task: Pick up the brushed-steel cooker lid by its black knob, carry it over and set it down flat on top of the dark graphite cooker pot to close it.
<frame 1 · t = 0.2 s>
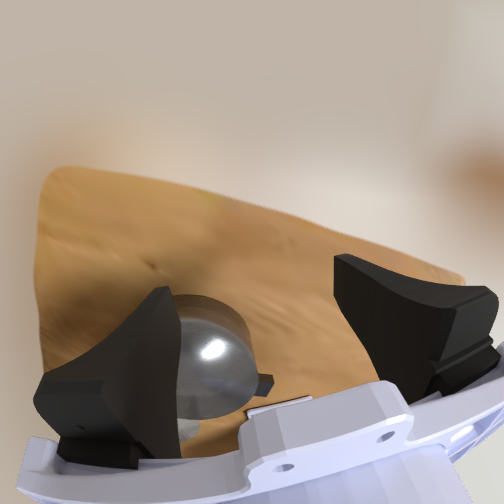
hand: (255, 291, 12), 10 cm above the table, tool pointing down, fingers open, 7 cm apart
cooker pot: (191, 344, 26), on the table
cooker lid: (152, 417, 31), on the table
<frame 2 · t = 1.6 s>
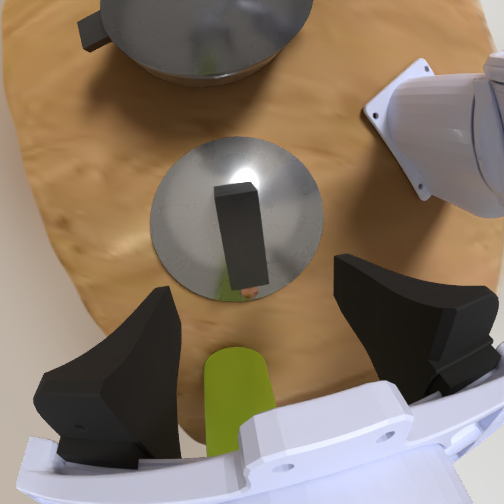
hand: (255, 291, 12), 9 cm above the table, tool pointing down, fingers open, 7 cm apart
cooker pot: (206, 14, 14), on the table
cooker lid: (237, 222, 21), on the table
soap dispenser: (240, 366, 26), on the table
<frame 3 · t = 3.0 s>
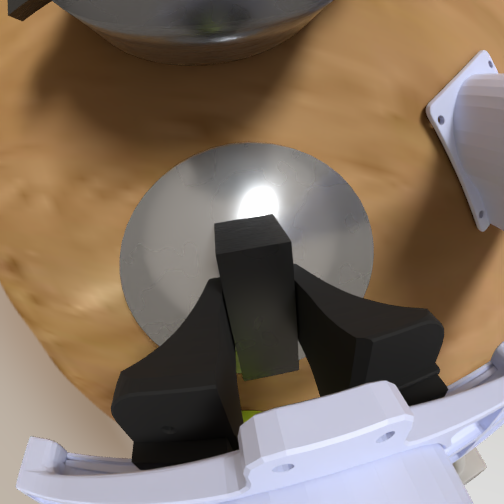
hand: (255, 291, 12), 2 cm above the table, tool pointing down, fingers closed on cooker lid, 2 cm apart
cooker lid: (250, 271, 14), on the table, touching gripper
mug: (420, 419, 26), on the table
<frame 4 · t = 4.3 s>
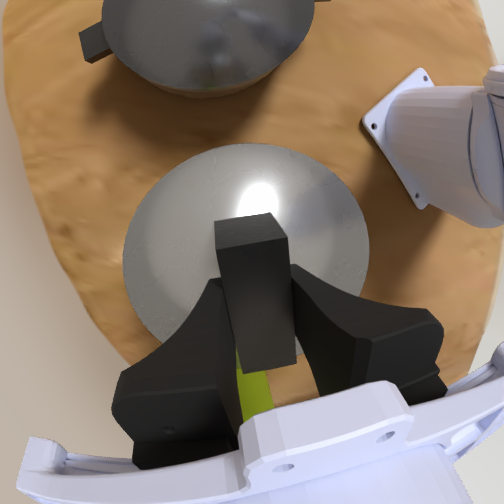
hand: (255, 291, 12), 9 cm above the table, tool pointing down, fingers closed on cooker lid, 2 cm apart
cooker pot: (207, 23, 14), on the table
cooker lid: (249, 268, 14), point 7 cm above the table, touching gripper
soap dispenser: (239, 370, 27), on the table
when the fingers open (8 cm above the table, at t = 5.9 s): cooker lid stays where it is, resting on cooker pot.
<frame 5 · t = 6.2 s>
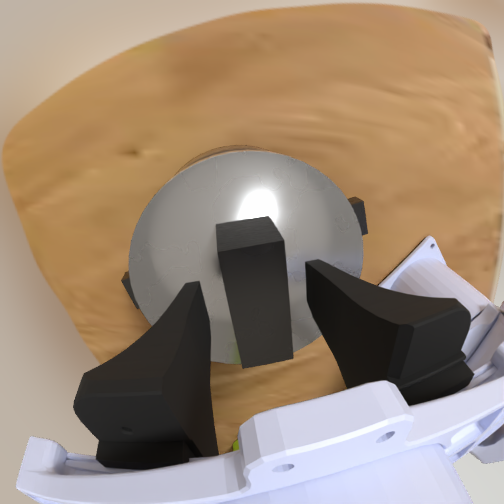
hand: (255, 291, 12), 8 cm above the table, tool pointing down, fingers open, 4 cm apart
cooker pot: (238, 228, 19), on the table
cooker lid: (248, 268, 15), point 5 cm above the table, touching cooker pot
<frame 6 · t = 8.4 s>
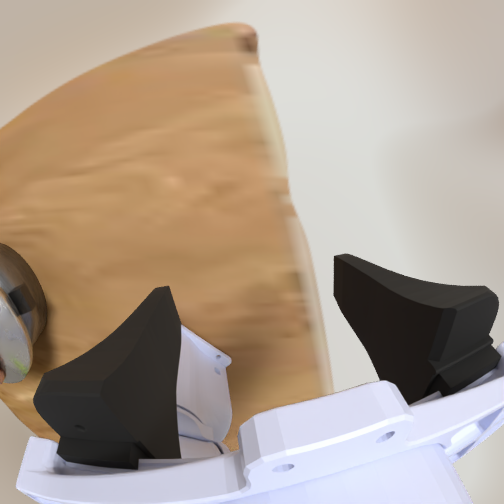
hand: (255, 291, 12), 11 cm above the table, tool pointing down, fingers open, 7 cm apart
cooker pot: (4, 294, 20), on the table
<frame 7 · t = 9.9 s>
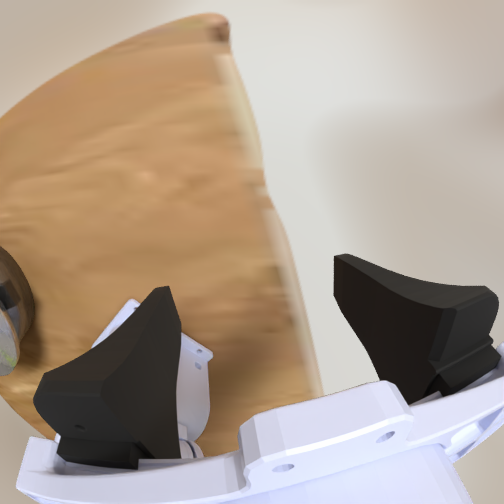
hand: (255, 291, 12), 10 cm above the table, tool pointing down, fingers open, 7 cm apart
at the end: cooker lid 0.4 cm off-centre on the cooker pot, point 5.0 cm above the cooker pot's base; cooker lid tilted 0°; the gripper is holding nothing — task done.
